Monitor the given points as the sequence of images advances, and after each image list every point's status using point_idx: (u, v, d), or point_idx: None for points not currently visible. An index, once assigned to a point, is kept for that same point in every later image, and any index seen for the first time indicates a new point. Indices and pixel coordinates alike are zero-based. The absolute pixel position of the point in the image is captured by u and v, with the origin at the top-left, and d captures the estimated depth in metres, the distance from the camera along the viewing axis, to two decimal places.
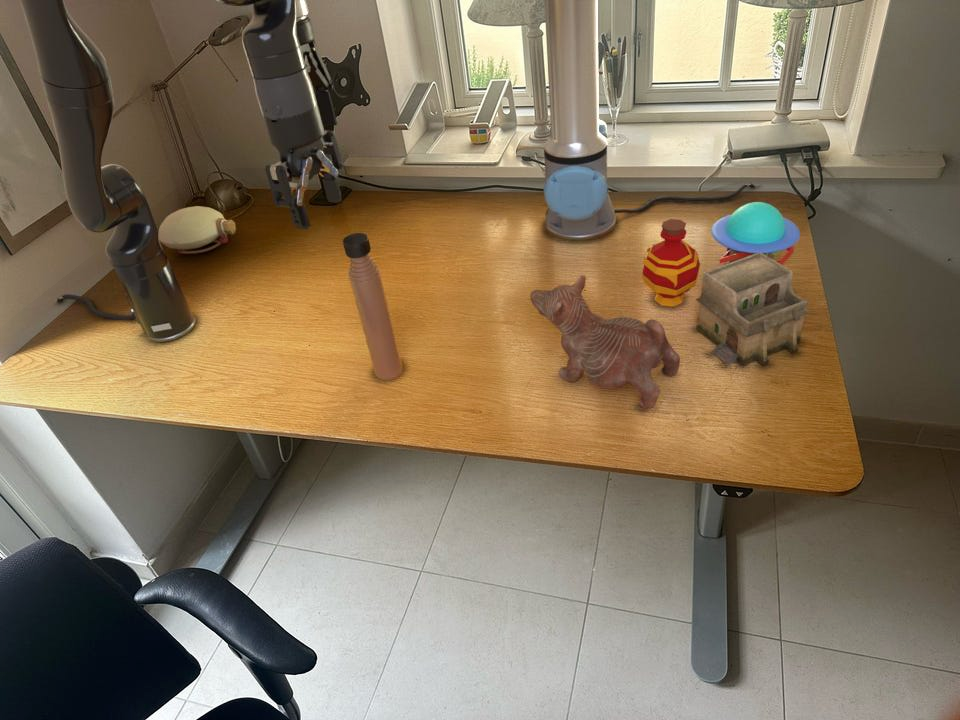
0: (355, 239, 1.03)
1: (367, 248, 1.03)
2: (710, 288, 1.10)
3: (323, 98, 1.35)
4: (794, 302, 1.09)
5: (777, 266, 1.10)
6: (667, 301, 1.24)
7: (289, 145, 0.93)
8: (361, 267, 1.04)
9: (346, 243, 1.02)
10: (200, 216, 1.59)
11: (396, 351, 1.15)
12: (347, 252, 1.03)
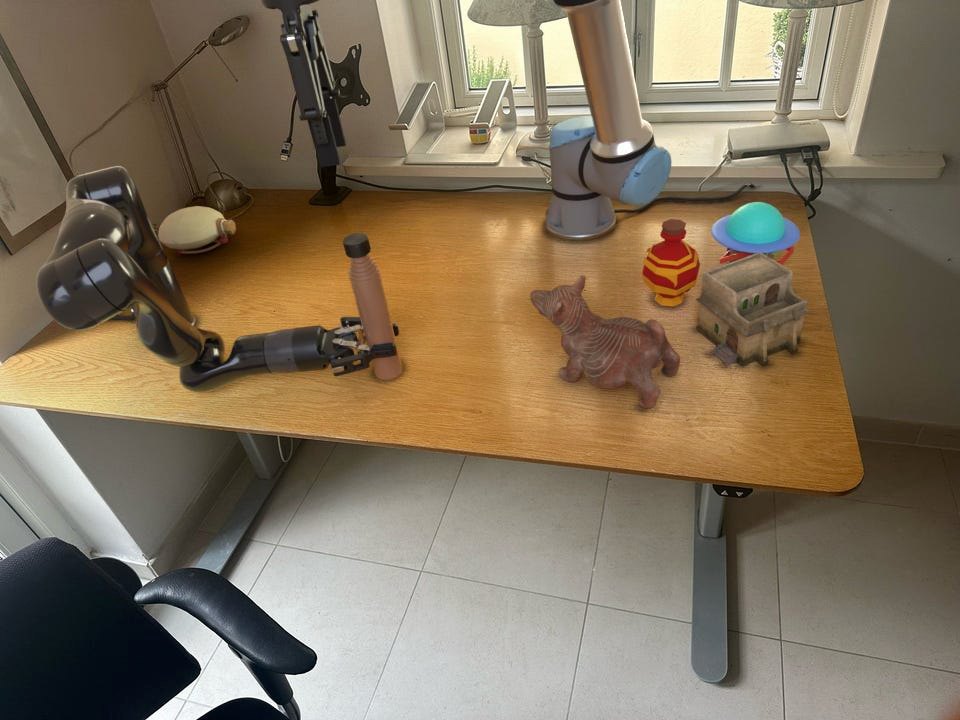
0: (355, 239, 1.03)
1: (367, 248, 1.03)
2: (710, 288, 1.10)
3: None
4: (794, 302, 1.09)
5: (777, 266, 1.10)
6: (667, 301, 1.24)
7: None
8: (361, 267, 1.04)
9: (346, 243, 1.02)
10: (200, 216, 1.59)
11: None
12: (347, 252, 1.03)
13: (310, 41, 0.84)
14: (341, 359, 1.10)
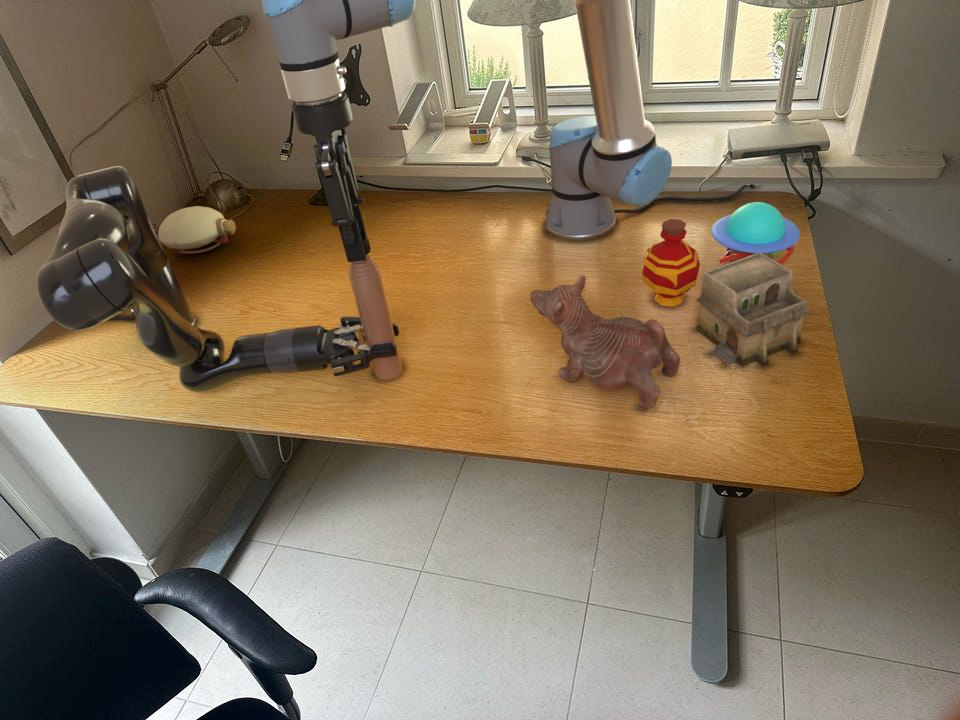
0: None
1: (367, 248, 1.03)
2: (710, 288, 1.10)
3: None
4: (794, 302, 1.09)
5: (777, 266, 1.10)
6: (667, 301, 1.24)
7: None
8: (361, 267, 1.04)
9: None
10: (200, 216, 1.59)
11: None
12: None
13: (340, 160, 0.93)
14: (341, 359, 1.10)
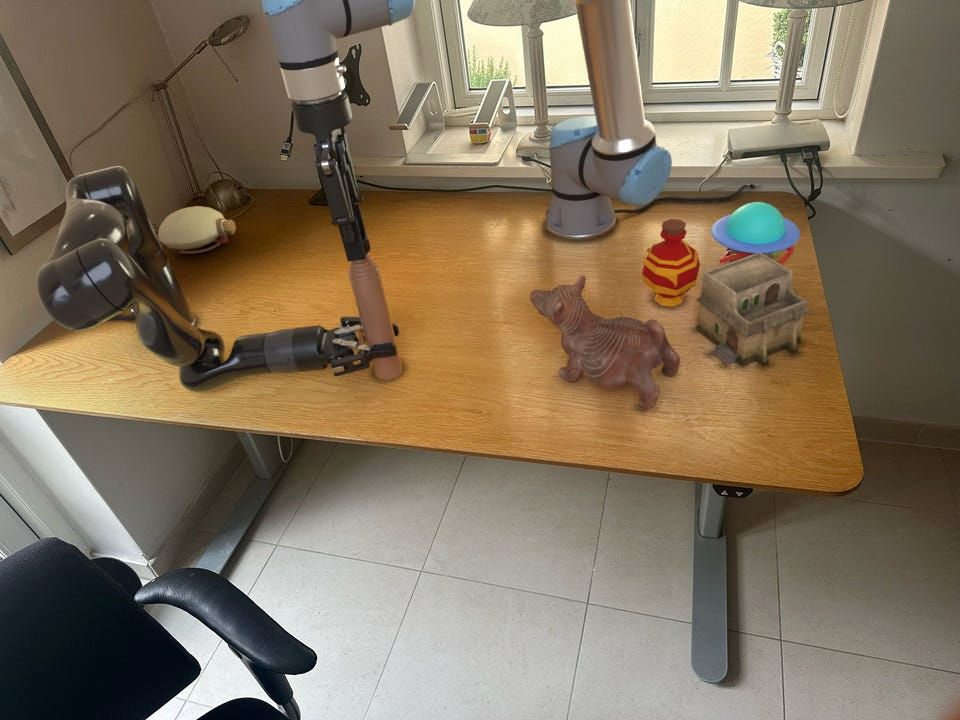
0: None
1: None
2: (710, 288, 1.10)
3: None
4: (794, 302, 1.09)
5: (777, 266, 1.10)
6: (667, 301, 1.24)
7: None
8: (361, 267, 1.04)
9: (365, 236, 1.03)
10: (200, 216, 1.59)
11: None
12: (368, 246, 1.03)
13: (340, 159, 0.93)
14: (341, 359, 1.10)
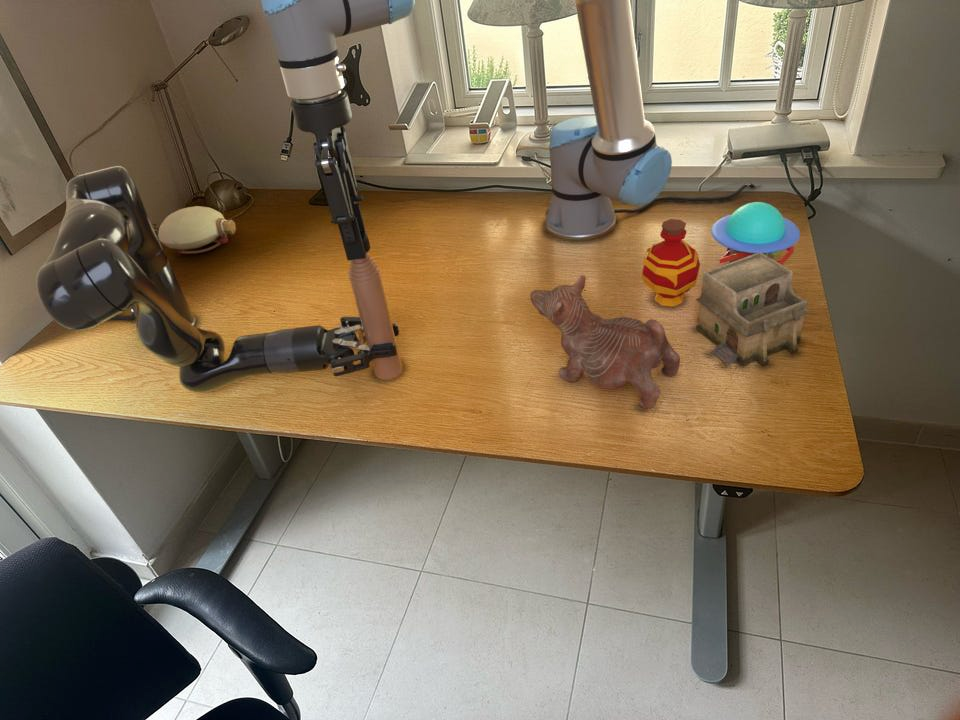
0: None
1: None
2: (710, 288, 1.10)
3: None
4: (794, 302, 1.09)
5: (777, 266, 1.10)
6: (667, 301, 1.24)
7: None
8: (361, 267, 1.04)
9: None
10: (200, 216, 1.59)
11: None
12: None
13: (340, 158, 0.93)
14: (341, 359, 1.10)
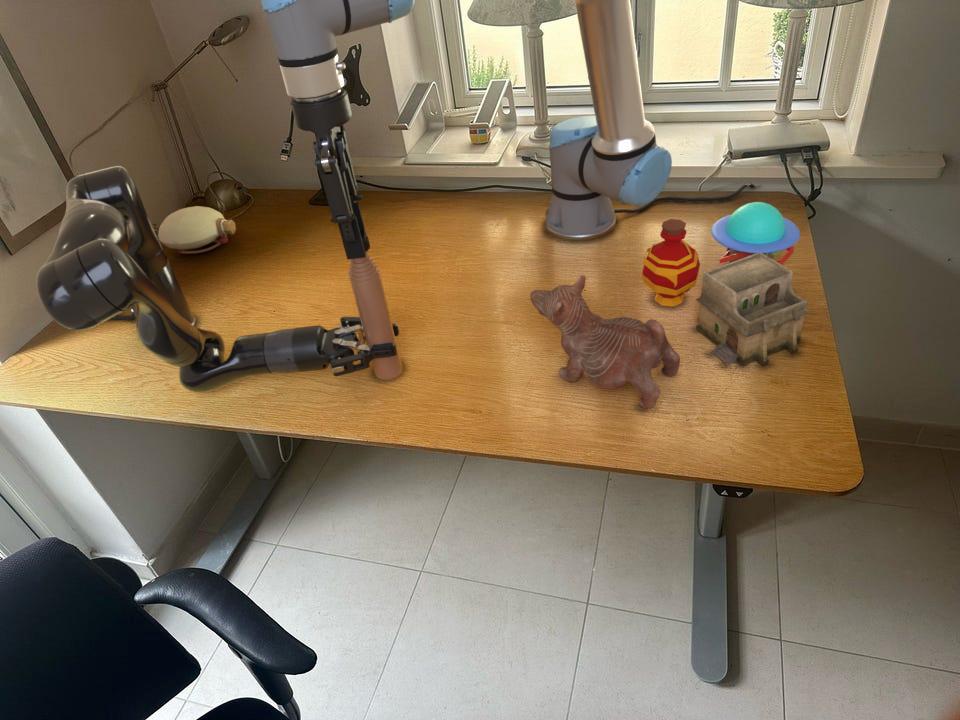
0: None
1: (368, 241, 1.04)
2: (710, 288, 1.10)
3: None
4: (794, 302, 1.09)
5: (777, 266, 1.10)
6: (667, 301, 1.24)
7: None
8: (361, 267, 1.04)
9: None
10: (200, 216, 1.59)
11: None
12: None
13: (339, 157, 0.93)
14: (341, 359, 1.10)
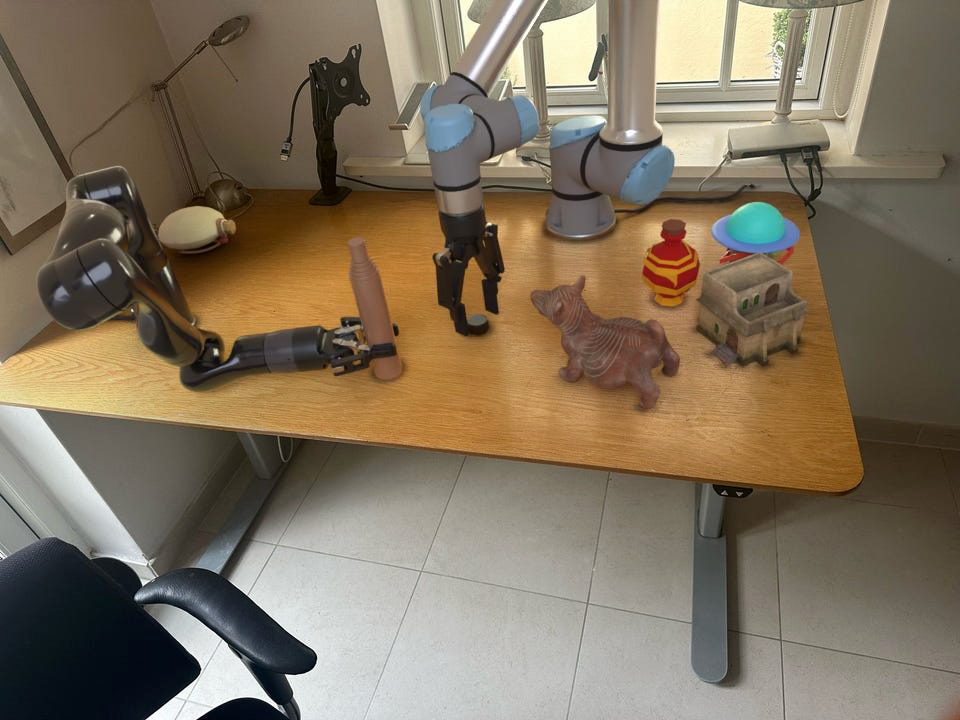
0: (476, 318, 1.24)
1: None
2: (710, 288, 1.10)
3: (488, 288, 1.23)
4: (794, 302, 1.09)
5: (777, 266, 1.10)
6: (667, 301, 1.24)
7: None
8: (361, 267, 1.04)
9: (483, 315, 1.25)
10: (200, 216, 1.59)
11: None
12: None
13: None
14: (341, 359, 1.10)
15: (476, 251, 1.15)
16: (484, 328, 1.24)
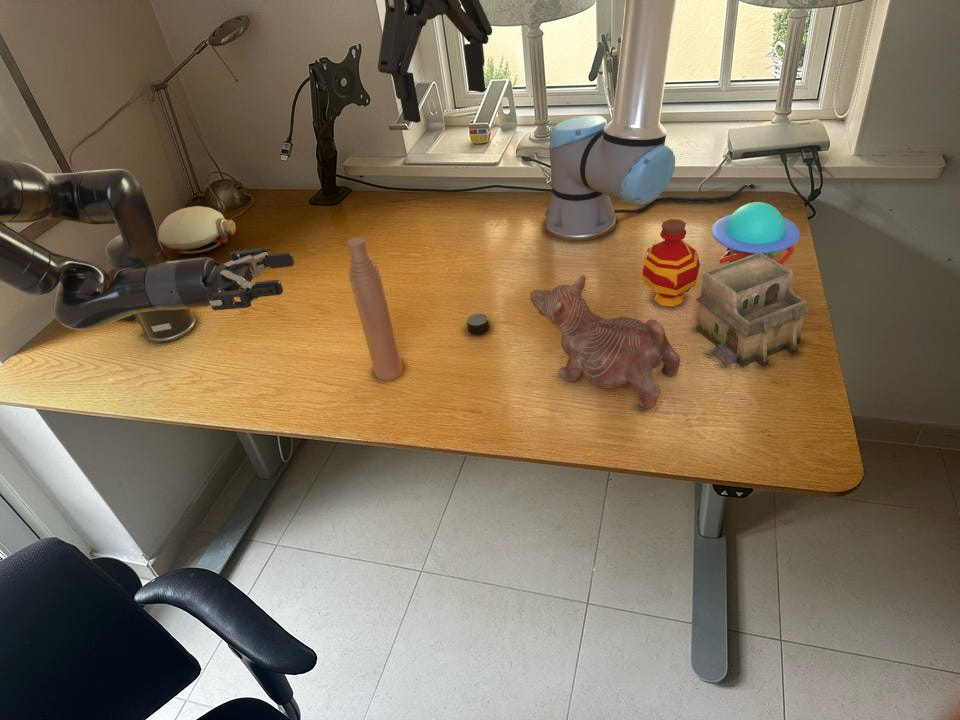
0: (476, 318, 1.24)
1: None
2: (710, 288, 1.10)
3: (471, 53, 1.00)
4: (794, 302, 1.09)
5: (777, 266, 1.10)
6: (667, 301, 1.24)
7: None
8: (361, 267, 1.04)
9: (483, 315, 1.25)
10: (200, 216, 1.59)
11: (396, 351, 1.15)
12: None
13: None
14: (219, 292, 1.00)
15: (446, 6, 0.93)
16: (484, 328, 1.24)
